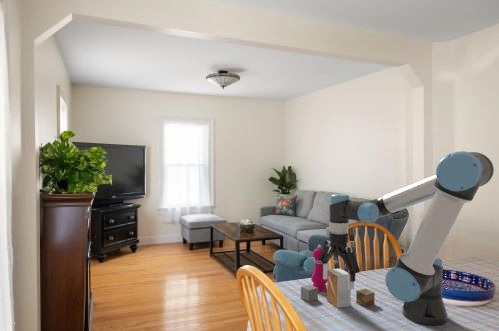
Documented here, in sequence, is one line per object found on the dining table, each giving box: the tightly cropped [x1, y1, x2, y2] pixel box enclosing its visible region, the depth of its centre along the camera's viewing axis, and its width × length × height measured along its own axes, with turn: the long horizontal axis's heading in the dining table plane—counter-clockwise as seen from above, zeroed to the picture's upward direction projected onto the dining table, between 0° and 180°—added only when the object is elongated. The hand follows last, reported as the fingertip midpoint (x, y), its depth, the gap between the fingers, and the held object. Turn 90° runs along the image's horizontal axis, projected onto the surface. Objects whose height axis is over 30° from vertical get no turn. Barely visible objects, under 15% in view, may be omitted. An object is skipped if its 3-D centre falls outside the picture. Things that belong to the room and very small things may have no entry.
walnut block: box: [355, 288, 375, 308], centre depth 147 cm, size 5×5×5 cm
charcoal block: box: [300, 284, 319, 303], centre depth 152 cm, size 5×5×5 cm
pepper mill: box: [311, 244, 327, 292], centre depth 164 cm, size 7×7×20 cm
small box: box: [326, 268, 352, 309], centre depth 147 cm, size 8×6×13 cm
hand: (337, 283), depth 148 cm, fingers open, 13 cm apart
